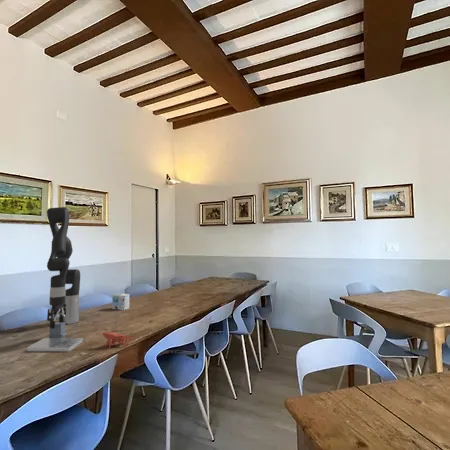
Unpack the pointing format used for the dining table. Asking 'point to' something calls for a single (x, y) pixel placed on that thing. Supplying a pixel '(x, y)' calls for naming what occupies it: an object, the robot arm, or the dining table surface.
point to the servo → (58, 330)
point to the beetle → (115, 338)
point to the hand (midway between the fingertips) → (56, 326)
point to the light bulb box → (120, 301)
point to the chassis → (55, 344)
